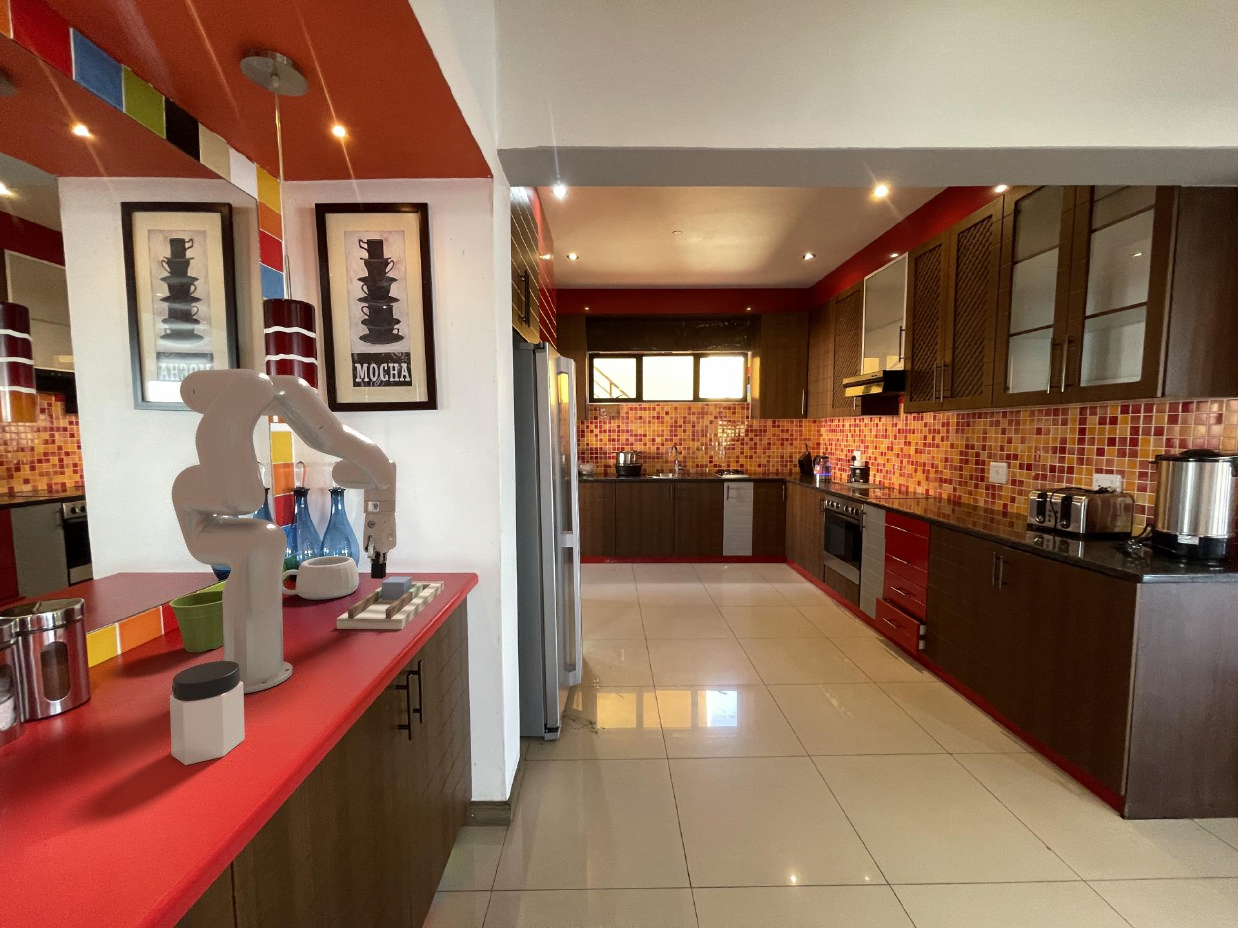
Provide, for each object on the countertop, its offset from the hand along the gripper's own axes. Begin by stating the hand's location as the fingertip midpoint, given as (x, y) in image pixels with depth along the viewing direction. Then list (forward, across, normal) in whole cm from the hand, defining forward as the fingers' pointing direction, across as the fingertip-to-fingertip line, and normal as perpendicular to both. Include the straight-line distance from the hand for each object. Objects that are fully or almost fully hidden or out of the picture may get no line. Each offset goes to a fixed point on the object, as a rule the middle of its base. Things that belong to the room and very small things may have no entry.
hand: (378, 577), depth 138 cm
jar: (+14, -56, +2) cm, 58 cm away
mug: (+11, +22, +27) cm, 36 cm away
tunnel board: (+11, +11, 0) cm, 16 cm away
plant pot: (+12, -17, +31) cm, 38 cm away
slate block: (+8, +12, 0) cm, 15 cm away
